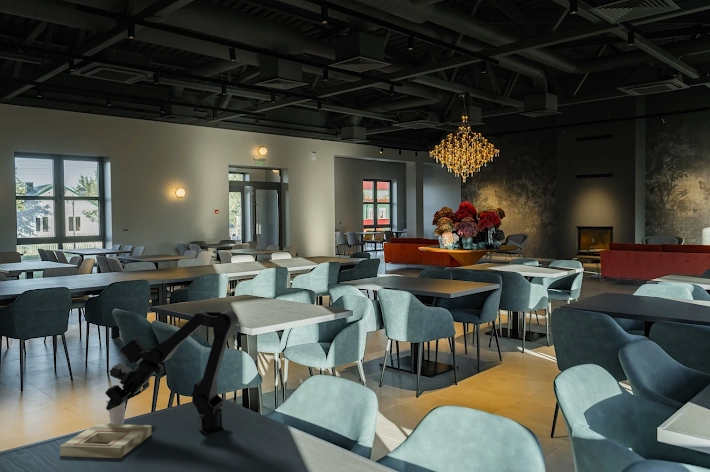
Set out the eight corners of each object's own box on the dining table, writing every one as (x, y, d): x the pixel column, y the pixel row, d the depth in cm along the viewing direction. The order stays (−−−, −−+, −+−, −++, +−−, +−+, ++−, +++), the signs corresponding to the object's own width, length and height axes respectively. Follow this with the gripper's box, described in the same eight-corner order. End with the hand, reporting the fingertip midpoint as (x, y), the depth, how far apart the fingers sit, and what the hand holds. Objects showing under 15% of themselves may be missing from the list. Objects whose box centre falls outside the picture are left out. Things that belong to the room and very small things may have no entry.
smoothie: (120, 430, 193) (118, 388, 193) (102, 429, 194) (101, 387, 194) (131, 423, 199) (130, 382, 199) (114, 423, 201) (113, 382, 200)
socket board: (96, 432, 192) (96, 423, 192) (151, 434, 189) (151, 424, 189) (60, 456, 173) (59, 445, 173) (120, 458, 170) (120, 447, 170)
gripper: (139, 350, 205) (111, 381, 207) (109, 363, 186) (79, 397, 188) (161, 372, 204) (133, 403, 206) (134, 388, 185) (103, 422, 187)
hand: (112, 406), depth 197 cm, fingers closed on smoothie, 6 cm apart
